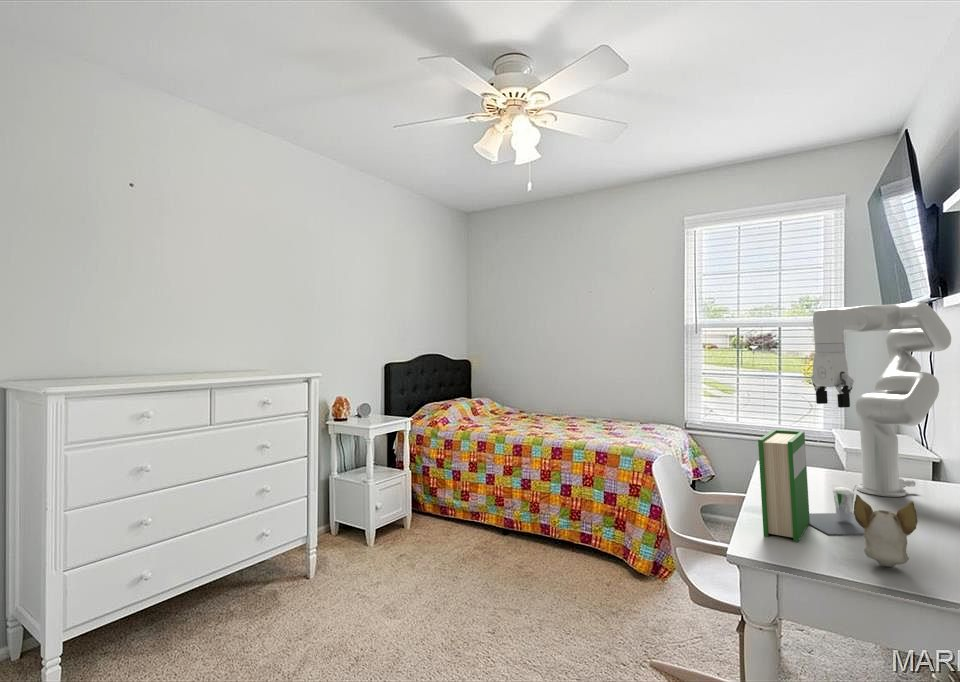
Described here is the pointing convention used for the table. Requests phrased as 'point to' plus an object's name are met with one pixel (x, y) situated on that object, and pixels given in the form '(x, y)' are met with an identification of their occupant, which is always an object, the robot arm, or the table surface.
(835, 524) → the mouse pad
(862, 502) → the ceramic sculpture
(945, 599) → the table surface
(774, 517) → the hardback book
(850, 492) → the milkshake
